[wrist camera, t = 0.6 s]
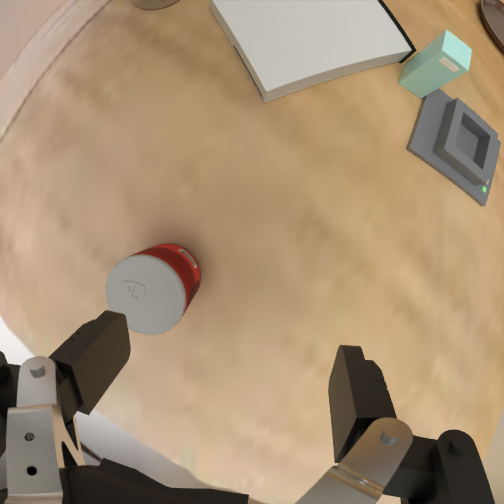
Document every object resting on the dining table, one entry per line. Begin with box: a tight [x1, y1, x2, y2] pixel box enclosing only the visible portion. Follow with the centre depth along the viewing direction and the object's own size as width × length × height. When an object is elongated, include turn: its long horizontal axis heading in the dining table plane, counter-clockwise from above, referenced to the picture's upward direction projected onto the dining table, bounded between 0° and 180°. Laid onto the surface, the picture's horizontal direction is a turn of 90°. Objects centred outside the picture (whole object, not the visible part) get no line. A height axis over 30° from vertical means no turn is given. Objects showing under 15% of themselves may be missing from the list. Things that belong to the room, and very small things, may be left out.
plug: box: [398, 29, 472, 99], centre depth 29 cm, size 4×4×12 cm
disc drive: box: [210, 0, 416, 103], centre depth 32 cm, size 18×22×5 cm
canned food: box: [106, 244, 201, 335], centre depth 32 cm, size 8×8×11 cm
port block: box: [406, 88, 501, 206], centre depth 34 cm, size 16×12×4 cm
